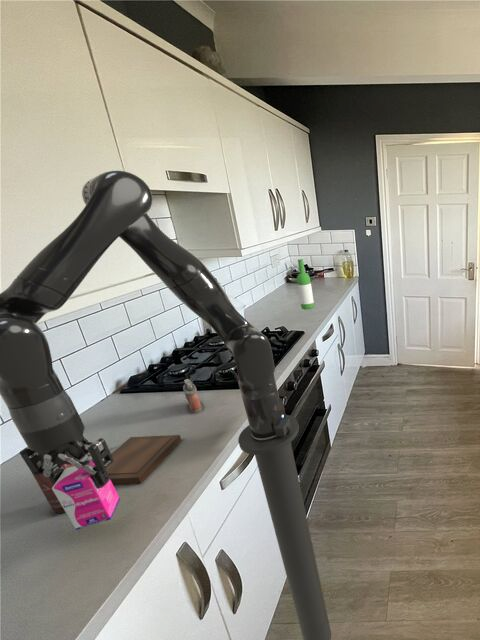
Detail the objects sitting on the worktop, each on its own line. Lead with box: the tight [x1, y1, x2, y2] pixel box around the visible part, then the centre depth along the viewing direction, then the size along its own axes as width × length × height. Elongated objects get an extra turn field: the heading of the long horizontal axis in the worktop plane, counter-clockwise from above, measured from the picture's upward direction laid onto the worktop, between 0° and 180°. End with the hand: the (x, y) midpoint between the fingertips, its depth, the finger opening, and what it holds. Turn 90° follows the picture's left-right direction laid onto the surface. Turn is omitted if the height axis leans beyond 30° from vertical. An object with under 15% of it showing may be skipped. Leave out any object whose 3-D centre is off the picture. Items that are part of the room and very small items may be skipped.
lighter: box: [182, 378, 203, 414], centre depth 115 cm, size 8×3×10 cm, turn 43°
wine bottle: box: [296, 258, 315, 310], centre depth 210 cm, size 8×8×30 cm
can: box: [31, 461, 73, 514], centre depth 79 cm, size 6×6×14 cm
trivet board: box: [106, 434, 182, 486], centre depth 93 cm, size 14×16×2 cm
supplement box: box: [52, 461, 121, 531], centre depth 70 cm, size 6×6×12 cm
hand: (84, 485), depth 70 cm, fingers closed on supplement box, 7 cm apart
